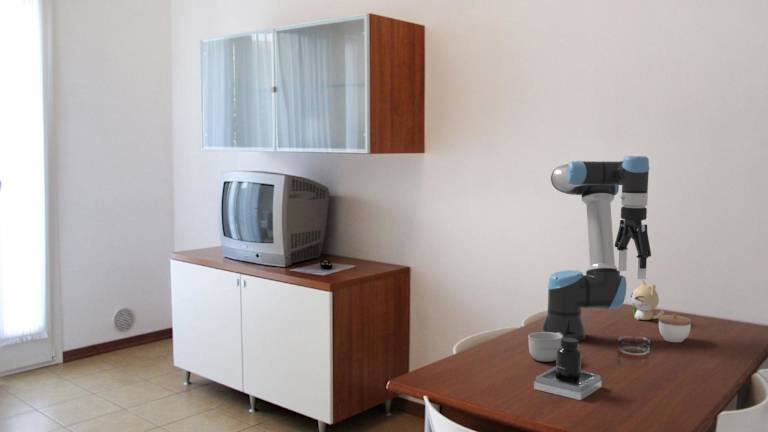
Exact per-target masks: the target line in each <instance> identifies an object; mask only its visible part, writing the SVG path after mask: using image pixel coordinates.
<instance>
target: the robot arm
mask: <svg viewBox="0 0 768 432" xmlns="http://www.w3.org/2000/svg"><path fill="white" fill-rule="evenodd" d="M649 171H650V160H649V158H648V156H646V155H645V156H643V155H641V156H640V155H635V156H634V155H626V156H624V157H623V160H622V161H621V160H620V161H589V160H587V161H585V160H584V161H583V160H575V161H569V162H568V164H562V165H558V166H556V168H555V169H553V171H552V173H551V175H550V182H551V185H552V186H553V188H555V190H556V191H558V192H560V193H563V194H566V195H572V196H573V195H574V196H577V195H578V196H581V201H582V202H583V203H584V204H585V205H586V219H587V220H586V221H587V236H588V237H587V238H588V253H589V267H588V268H587V269H586V270H585V271H586V272H585V275H584V274H583V271H580V270H570V269H569V270H568V269H567V270H560V271H556V272H554V273H552V274H550V276H549V277H548V285H547V289H548V294H547V315H546V318H545V320H544V323H543V326H542V328H541V329H542V330H541V332H552V333H562V334H563V337H564V338H574V339H577V340H578V342H579V341H583V340H585V339H586V329H585V326H584V322H583V319H582V309H607V310H610V309H620V307H622V305H623V304H624V302H625V299H626V298H625V297H626V296H627V284H628V283H627V278H626V277H625V276H624V275H621V272H626V271H627V262H628V261H627V260H628V257H627V256H628V245H629V243H630V241H631V239H632V240H633V242H634V244H635V249H636V252H637V256H636V271H635V272H636V273H635V274H636V275H635V279H636V280H646V279H647V264H648V263H647V260H648V258H649V257H651V256H652V251H651V246H650V240H649V234H648V224H645V223H644V224H642V221H644V220H645V221H646V220H647V216H648V215H647V213H648V208H647V206H648V195H649V193H648V192H649V191H648V190H649V189H648V188H649V174H650V172H649ZM619 186H621V195H620V199H621V202H620V203H621V205H622V206H621V207H620V221H619V227H618V232H617V234H616V239H615V241H614V235H613V222H612V221H613V220H612V208H611V207H612V206H611V205H612V204H611V203H612V202H613V201H614V200H615V196H617V195H618V193H619V189H620V187H619ZM614 242H615V243H614ZM614 247H615V248H616V250H617V261H616V260H615V250H614V249H615V248H614ZM615 261H616V262H617V264H615V263H616V262H615ZM616 265H617V266H616Z"/></svg>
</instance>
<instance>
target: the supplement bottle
mask: <svg viewBox="0 0 768 432" xmlns="http://www.w3.org/2000/svg"><path fill="white" fill-rule="evenodd" d="M555 366H556V380H558V381H562V382H567V383H571V384H577V383H579V381H580V372H581V371H582V369H581V367H582V352H581V350H580V349H579V341H578V340H577V339H574V338H562V339H561V347H560V348H559V349H558V350H557V358H556V360H555Z"/></svg>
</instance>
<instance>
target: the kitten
mask: <svg viewBox="0 0 768 432" xmlns="http://www.w3.org/2000/svg"><path fill="white" fill-rule="evenodd" d="M630 298H631V304H632V305H633V309H632V310H633V316H634V319H635V320H637V321H639V320H642V321H649V320H655V319H659V317H660V316H663V315H665V312H664V310H662V309H660V310H659V311H658V313H657V314H655V315H654V314H653V311H652V310H654V309H656V308H657V307H658V305H659V302H660V301H659V294H658V292H657V291H656V284H654V283H653V284H651V285H647V284H646V282H645V279H641V281H640V285H639V286H637V287H636V288H634V290H633V292H632V293H631V295H630Z"/></svg>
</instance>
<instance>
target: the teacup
mask: <svg viewBox="0 0 768 432" xmlns="http://www.w3.org/2000/svg"><path fill="white" fill-rule="evenodd" d="M527 335H528V336H527V338H528V350H529V351H528V352H529V355H530V356H531V357H532V358H534V360H536V361H538V362H546V363H548V362H556V358H557V350H558V349H559V348H560V347H561V339H562V338H564V337H563V334H562V333H552V332H542V331H538V332H532V333H529V334H527Z"/></svg>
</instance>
